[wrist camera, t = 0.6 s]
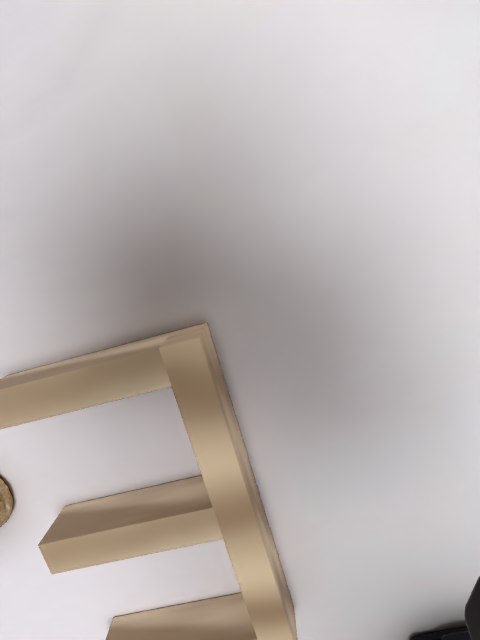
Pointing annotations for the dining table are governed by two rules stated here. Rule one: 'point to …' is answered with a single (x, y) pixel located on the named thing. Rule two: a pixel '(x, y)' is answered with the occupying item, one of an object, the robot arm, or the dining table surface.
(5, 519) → the sprinkles bottle
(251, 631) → the comb rack
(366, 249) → the dining table surface
